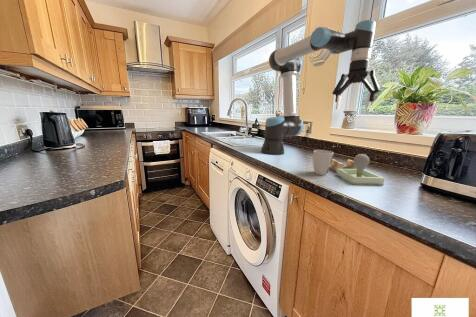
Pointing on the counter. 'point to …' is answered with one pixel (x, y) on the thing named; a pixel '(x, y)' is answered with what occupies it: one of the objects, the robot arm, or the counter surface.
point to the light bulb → (361, 163)
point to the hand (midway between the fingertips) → (351, 109)
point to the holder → (339, 165)
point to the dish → (366, 178)
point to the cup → (322, 161)
